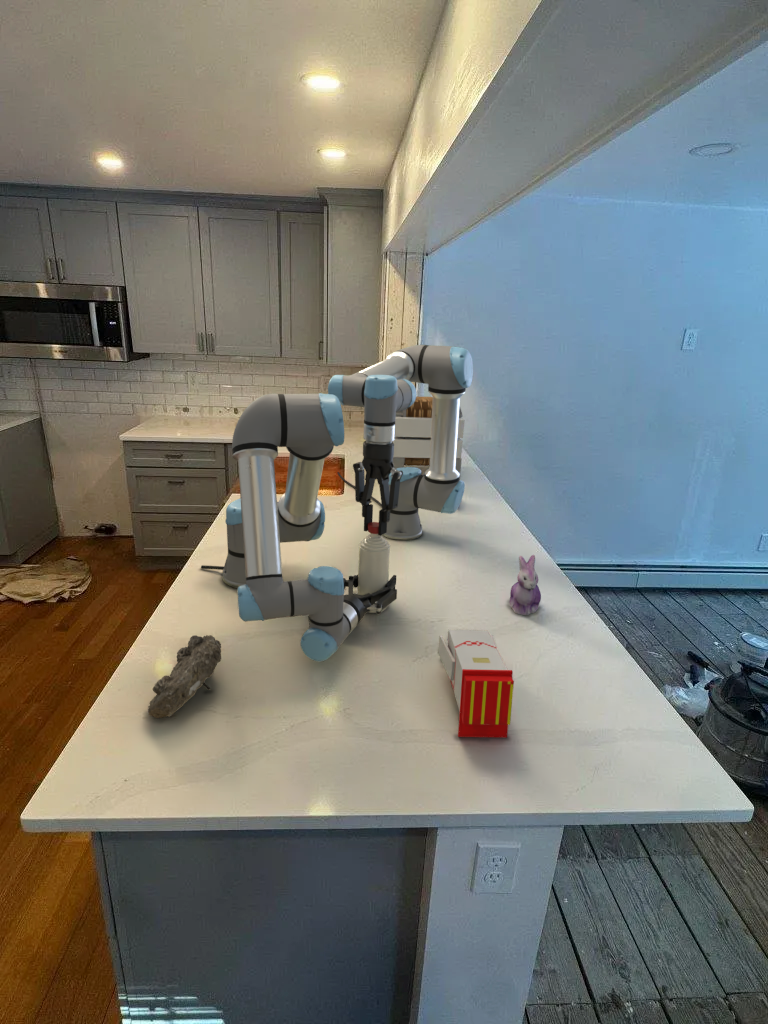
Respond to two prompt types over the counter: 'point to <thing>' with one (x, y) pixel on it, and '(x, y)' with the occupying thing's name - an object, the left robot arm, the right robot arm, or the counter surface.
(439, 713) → the counter surface
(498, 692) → the toy
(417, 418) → the white slatted crate
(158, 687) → the fossil
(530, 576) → the figurine
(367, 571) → the bottle
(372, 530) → the cap
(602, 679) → the counter surface
